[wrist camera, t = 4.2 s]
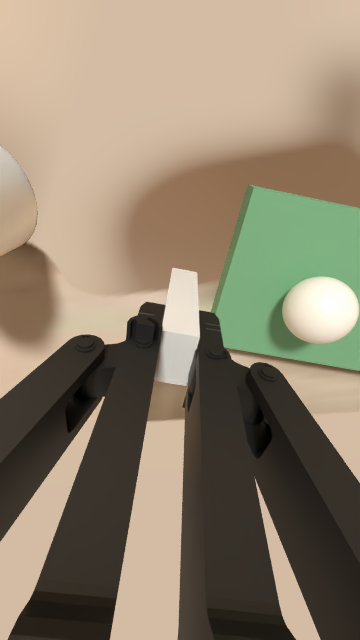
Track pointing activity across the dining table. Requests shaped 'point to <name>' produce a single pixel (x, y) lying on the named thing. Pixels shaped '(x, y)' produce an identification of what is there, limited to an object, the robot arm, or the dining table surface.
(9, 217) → the pill bottle
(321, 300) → the ball
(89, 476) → the robot arm
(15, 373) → the dining table surface
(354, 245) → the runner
